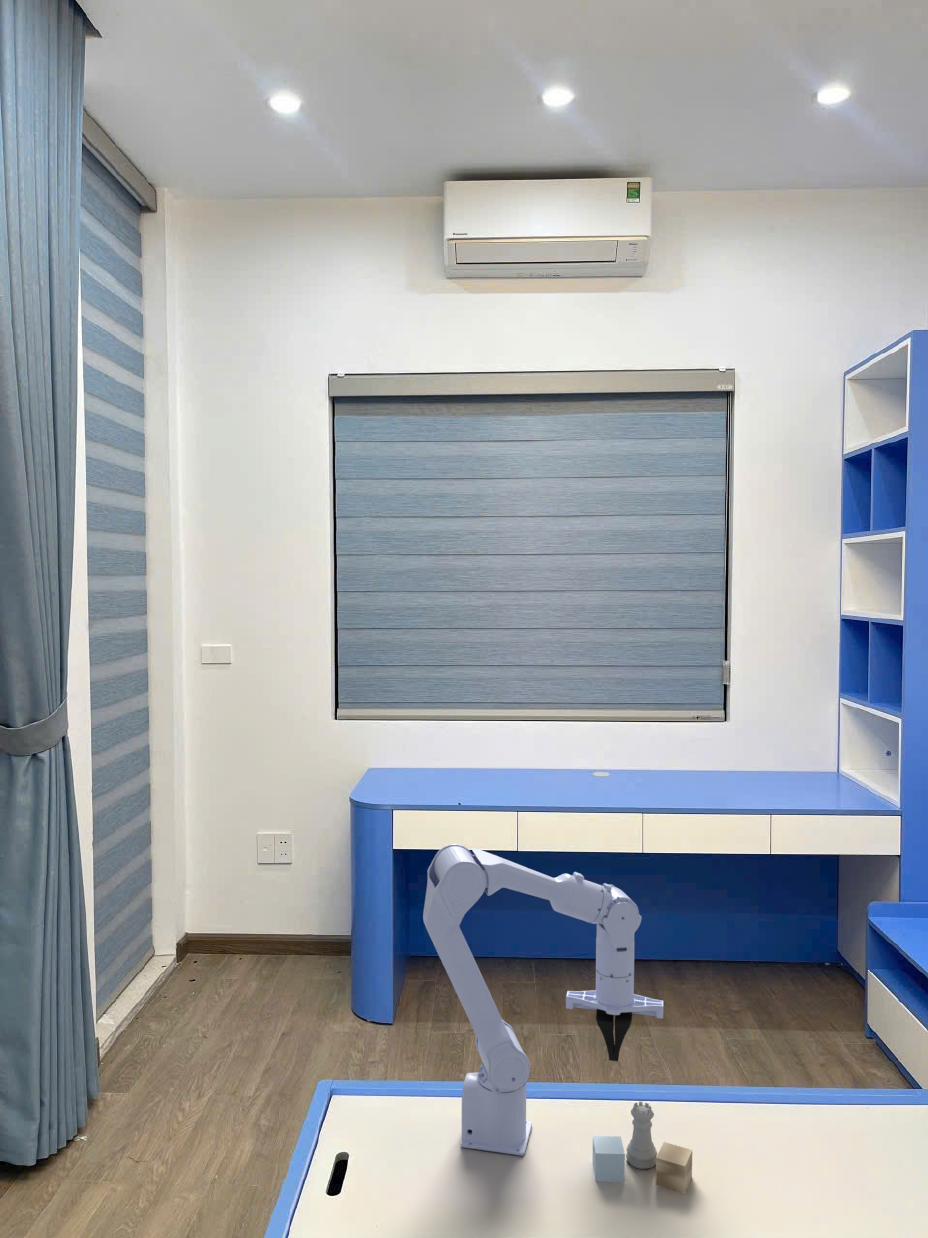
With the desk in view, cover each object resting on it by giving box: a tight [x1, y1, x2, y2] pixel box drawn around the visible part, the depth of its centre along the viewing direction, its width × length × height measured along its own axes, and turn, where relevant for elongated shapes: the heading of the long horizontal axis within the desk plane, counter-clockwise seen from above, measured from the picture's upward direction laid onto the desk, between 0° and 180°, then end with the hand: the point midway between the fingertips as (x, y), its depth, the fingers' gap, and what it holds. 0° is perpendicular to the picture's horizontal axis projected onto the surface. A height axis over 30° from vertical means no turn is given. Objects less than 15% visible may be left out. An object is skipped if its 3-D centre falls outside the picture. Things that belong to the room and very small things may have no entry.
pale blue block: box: [592, 1135, 626, 1183], centre depth 129 cm, size 4×4×4 cm
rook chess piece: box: [625, 1101, 658, 1170], centre depth 131 cm, size 4×4×8 cm
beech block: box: [655, 1141, 693, 1195], centre depth 127 cm, size 4×4×4 cm
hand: (613, 1057), depth 140 cm, fingers closed
